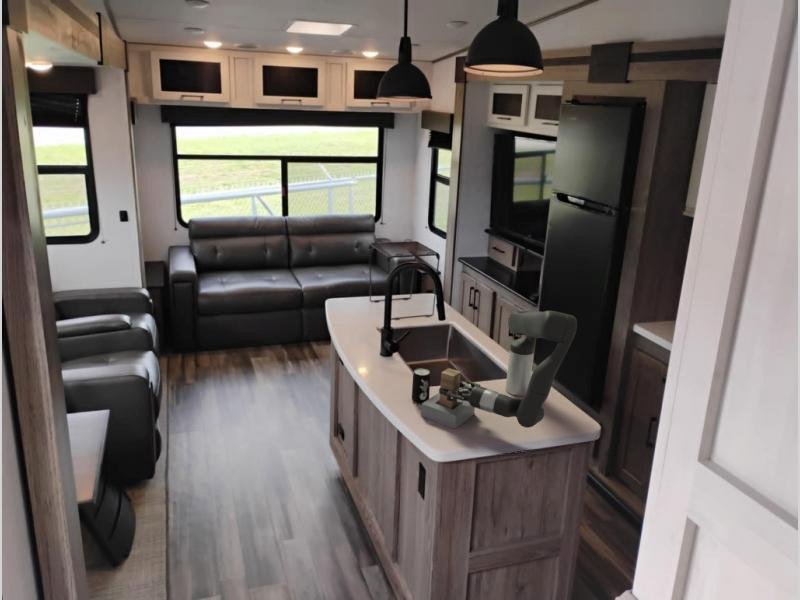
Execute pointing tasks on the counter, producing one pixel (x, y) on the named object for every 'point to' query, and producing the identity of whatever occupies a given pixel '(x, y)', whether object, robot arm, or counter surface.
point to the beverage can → (421, 385)
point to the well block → (446, 412)
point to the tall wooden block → (449, 386)
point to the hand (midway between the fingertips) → (445, 386)
